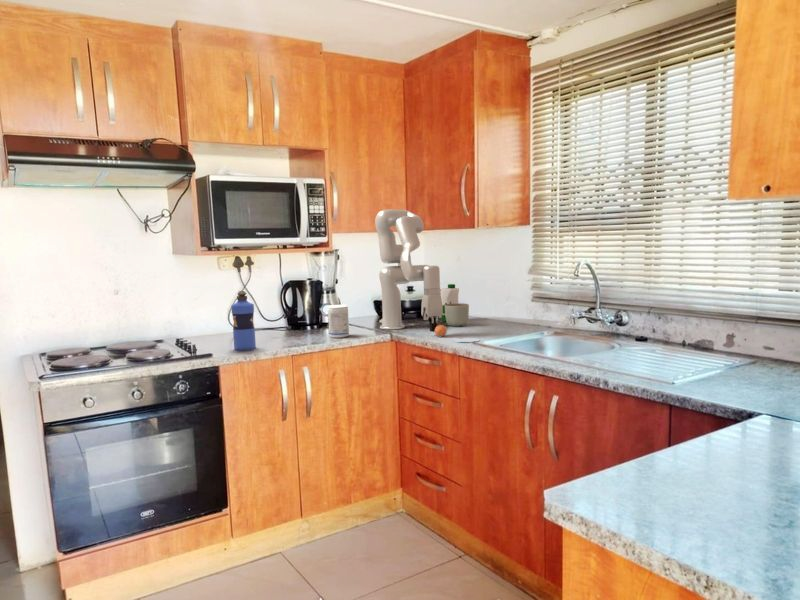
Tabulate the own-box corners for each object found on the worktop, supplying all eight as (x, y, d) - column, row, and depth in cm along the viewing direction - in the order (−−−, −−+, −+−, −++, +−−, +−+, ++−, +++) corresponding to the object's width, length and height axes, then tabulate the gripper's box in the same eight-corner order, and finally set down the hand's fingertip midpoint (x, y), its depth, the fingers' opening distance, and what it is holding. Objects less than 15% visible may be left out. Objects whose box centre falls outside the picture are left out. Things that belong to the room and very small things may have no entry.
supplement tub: (330, 335, 275) (329, 304, 273) (350, 334, 275) (348, 304, 273) (327, 338, 265) (326, 307, 264) (348, 338, 265) (346, 306, 263)
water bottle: (234, 351, 239) (231, 292, 237) (232, 347, 248) (229, 290, 245) (257, 349, 243) (254, 291, 240) (254, 345, 251) (251, 289, 249)
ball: (436, 322, 259) (442, 332, 257) (445, 321, 263) (450, 331, 260) (430, 329, 263) (435, 339, 260) (439, 328, 266) (444, 338, 264)
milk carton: (461, 320, 309) (460, 284, 307) (451, 323, 302) (451, 285, 300) (448, 319, 315) (447, 283, 313) (438, 321, 308) (437, 285, 306)
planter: (461, 328, 285) (460, 306, 284) (440, 326, 292) (440, 305, 291) (473, 324, 295) (473, 303, 294) (453, 323, 302) (452, 302, 301)
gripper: (437, 290, 271) (438, 328, 273) (414, 293, 262) (415, 332, 263) (449, 291, 265) (450, 330, 267) (425, 293, 256) (427, 334, 258)
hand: (433, 331), depth 265 cm, fingers closed
